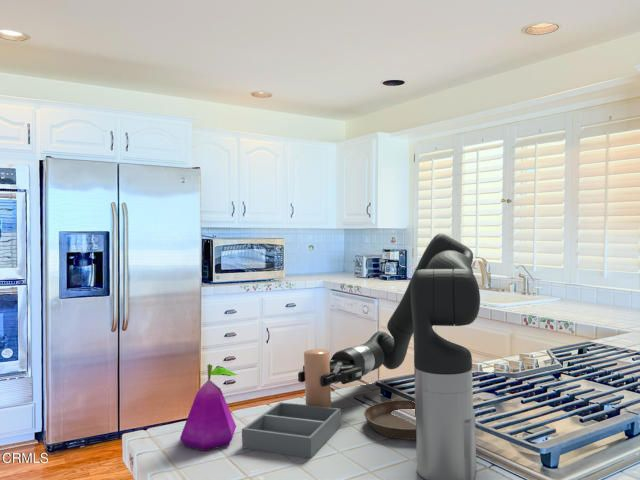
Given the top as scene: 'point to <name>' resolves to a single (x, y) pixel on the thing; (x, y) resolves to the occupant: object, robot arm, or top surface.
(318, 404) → the peach pillar candle
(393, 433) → the object
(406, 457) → the top surface
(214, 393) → the pear
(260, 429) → the divided storage tray
